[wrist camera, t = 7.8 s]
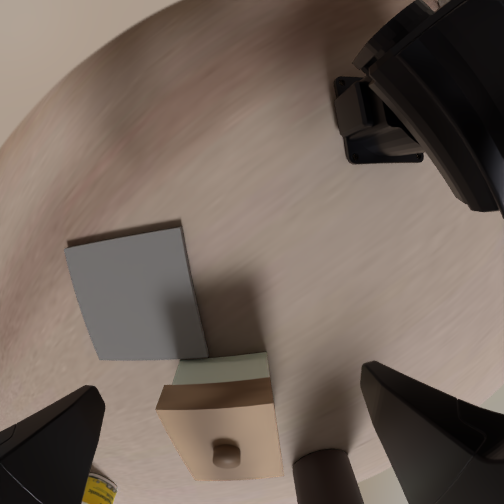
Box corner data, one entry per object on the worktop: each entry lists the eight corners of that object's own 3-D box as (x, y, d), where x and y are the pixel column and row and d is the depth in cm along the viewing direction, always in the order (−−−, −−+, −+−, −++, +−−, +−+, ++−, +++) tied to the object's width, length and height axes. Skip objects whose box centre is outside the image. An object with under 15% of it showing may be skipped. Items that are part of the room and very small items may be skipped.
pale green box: (266, 351, 21) (271, 388, 16) (274, 411, 22) (279, 447, 18) (180, 360, 21) (168, 395, 17) (200, 417, 22) (194, 452, 18)
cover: (270, 376, 16) (274, 415, 13) (281, 453, 18) (285, 485, 15) (164, 385, 16) (151, 420, 13) (198, 458, 18) (193, 489, 15)
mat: (181, 226, 19) (180, 227, 18) (208, 352, 21) (207, 357, 20) (67, 247, 19) (63, 249, 18) (102, 356, 21) (99, 360, 20)
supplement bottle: (123, 487, 27) (109, 533, 17) (108, 490, 28) (94, 531, 18) (95, 470, 26) (76, 515, 16) (82, 473, 27) (64, 514, 17)
